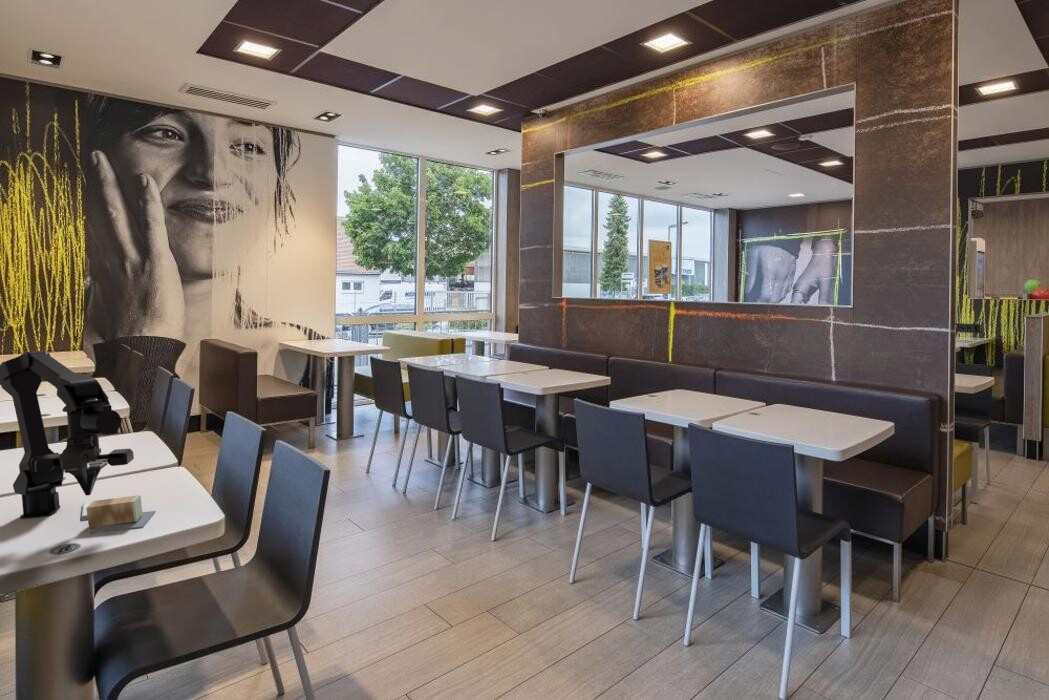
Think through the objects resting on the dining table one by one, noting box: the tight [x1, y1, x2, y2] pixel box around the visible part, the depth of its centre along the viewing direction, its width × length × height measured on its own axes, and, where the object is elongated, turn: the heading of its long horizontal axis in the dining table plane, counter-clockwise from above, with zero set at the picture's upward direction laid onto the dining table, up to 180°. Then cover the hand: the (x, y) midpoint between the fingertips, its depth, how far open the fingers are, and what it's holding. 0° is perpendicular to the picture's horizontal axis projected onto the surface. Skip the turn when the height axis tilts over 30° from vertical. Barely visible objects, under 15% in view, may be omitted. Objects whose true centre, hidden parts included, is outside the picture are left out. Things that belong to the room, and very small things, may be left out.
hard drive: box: [81, 496, 120, 521], centre depth 161 cm, size 2×8×12 cm
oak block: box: [86, 494, 143, 529], centre depth 151 cm, size 5×5×10 cm
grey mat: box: [89, 510, 156, 534], centre depth 152 cm, size 11×11×1 cm
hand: (88, 494), depth 149 cm, fingers closed
